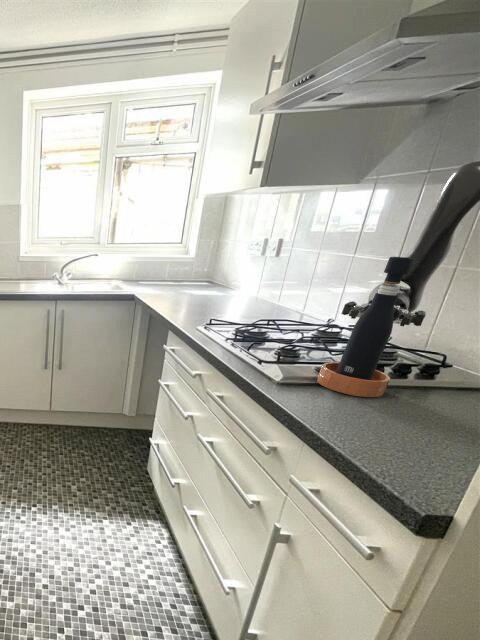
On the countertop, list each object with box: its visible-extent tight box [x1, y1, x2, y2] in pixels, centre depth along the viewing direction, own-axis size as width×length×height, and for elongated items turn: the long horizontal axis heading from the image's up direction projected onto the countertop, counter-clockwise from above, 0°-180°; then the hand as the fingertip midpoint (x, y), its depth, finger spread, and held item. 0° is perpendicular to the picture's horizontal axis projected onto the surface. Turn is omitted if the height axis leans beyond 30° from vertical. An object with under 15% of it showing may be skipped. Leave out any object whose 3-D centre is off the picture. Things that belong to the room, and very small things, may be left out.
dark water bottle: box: [336, 256, 414, 380], centre depth 94 cm, size 6×6×30 cm
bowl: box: [316, 361, 391, 398], centre depth 100 cm, size 12×12×4 cm
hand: (378, 318), depth 96 cm, fingers open, 8 cm apart
